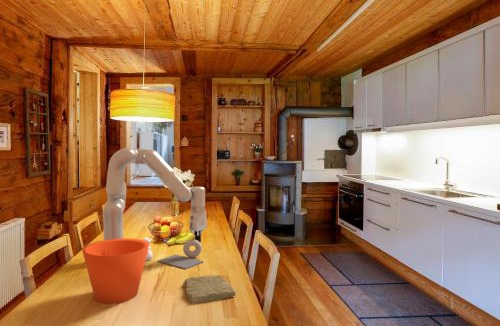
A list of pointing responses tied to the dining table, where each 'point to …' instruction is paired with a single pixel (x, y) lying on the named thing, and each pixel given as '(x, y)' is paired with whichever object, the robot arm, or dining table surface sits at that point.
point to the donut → (192, 243)
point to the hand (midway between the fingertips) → (197, 242)
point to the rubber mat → (180, 261)
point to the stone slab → (207, 288)
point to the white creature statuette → (149, 254)
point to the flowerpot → (115, 268)
